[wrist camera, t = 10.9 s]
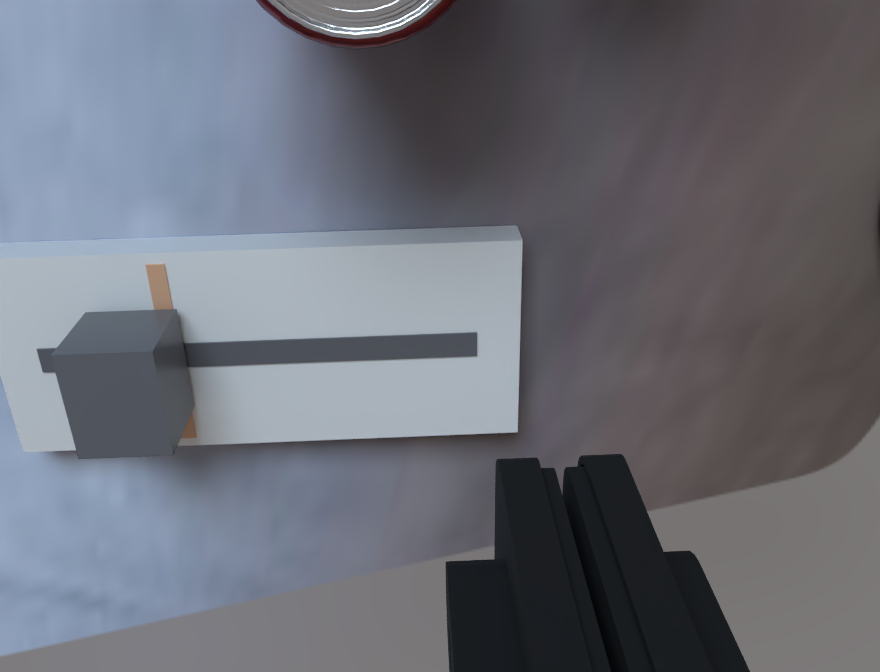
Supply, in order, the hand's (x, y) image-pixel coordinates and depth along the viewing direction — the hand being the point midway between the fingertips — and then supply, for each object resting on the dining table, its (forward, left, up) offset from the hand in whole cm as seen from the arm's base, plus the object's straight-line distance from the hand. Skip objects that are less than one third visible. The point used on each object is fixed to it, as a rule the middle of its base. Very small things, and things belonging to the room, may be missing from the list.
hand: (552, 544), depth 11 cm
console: (+9, +10, -27) cm, 30 cm away
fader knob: (+14, +10, -25) cm, 30 cm away
